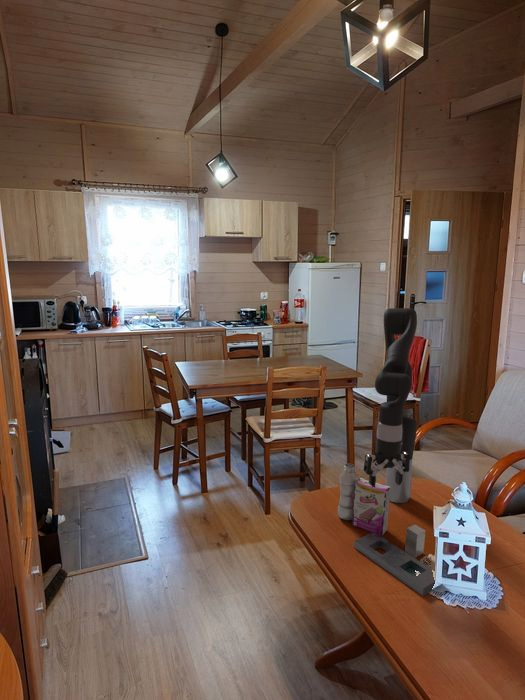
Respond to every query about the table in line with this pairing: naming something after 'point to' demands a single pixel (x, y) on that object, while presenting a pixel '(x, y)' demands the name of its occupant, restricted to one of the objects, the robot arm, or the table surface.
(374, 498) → the candy bar box
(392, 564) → the grey board with holes
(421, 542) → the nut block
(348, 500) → the plastic bottle
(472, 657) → the table surface
